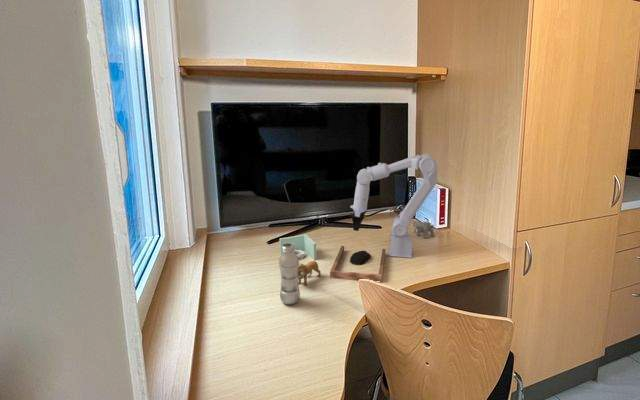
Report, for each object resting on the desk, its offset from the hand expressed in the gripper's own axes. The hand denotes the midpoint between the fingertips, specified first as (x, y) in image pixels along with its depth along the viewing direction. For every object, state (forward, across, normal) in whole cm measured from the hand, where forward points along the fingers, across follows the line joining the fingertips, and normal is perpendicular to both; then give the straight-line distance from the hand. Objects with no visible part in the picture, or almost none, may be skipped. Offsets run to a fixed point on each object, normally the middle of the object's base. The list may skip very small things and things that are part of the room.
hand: (357, 227), depth 153 cm
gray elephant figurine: (+7, -22, +30) cm, 38 cm away
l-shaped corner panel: (+14, +11, -22) cm, 29 cm away
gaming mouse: (+11, +7, +5) cm, 14 cm away
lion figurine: (+13, +31, -12) cm, 36 cm away
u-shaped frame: (+10, +14, +4) cm, 18 cm away
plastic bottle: (+13, +46, -14) cm, 50 cm away
